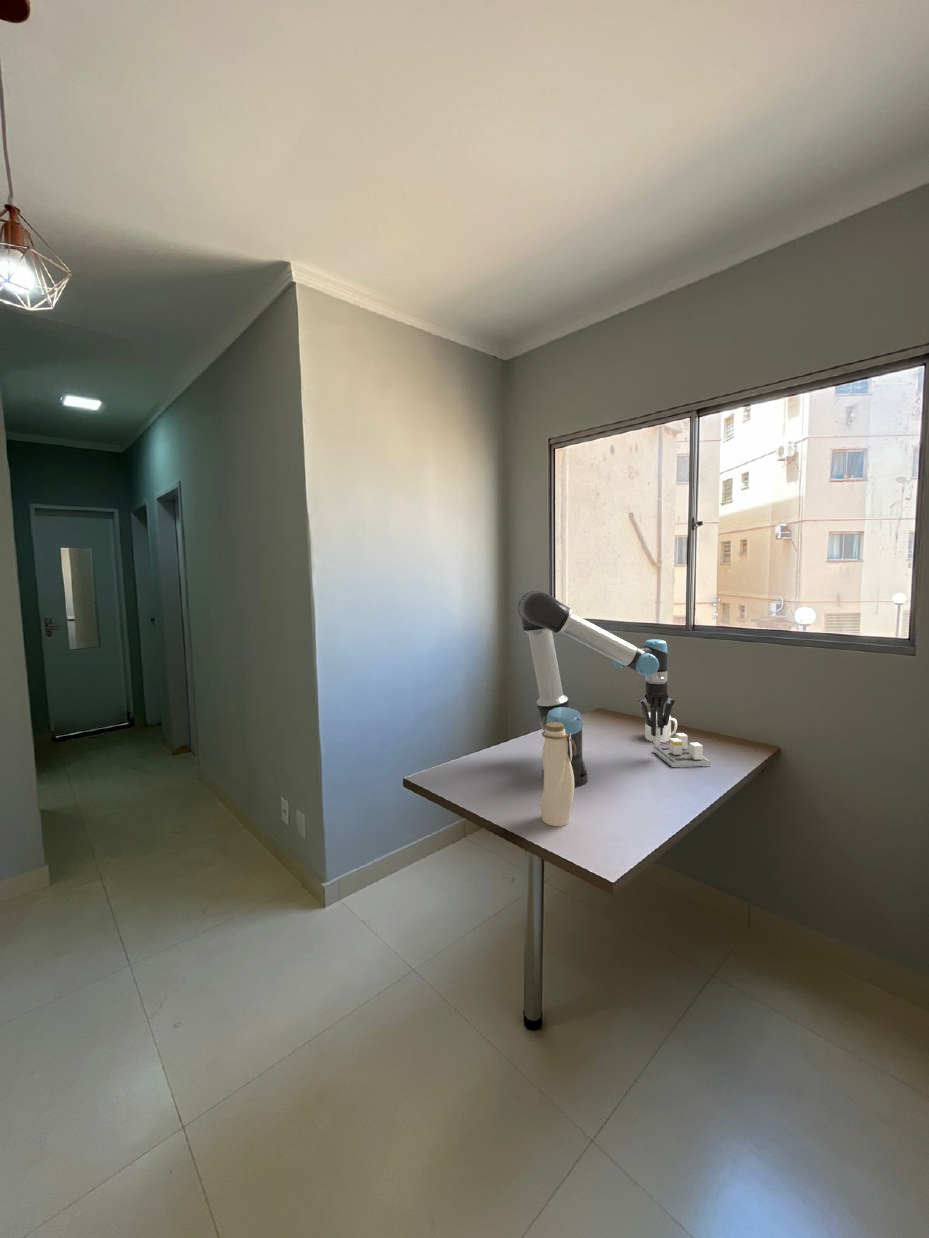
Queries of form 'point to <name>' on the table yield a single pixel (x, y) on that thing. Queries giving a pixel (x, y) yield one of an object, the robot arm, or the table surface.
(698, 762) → the panel
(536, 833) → the table surface
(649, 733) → the mug
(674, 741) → the block
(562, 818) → the water bottle
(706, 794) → the table surface
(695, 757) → the breaker low
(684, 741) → the block
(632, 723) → the table surface
